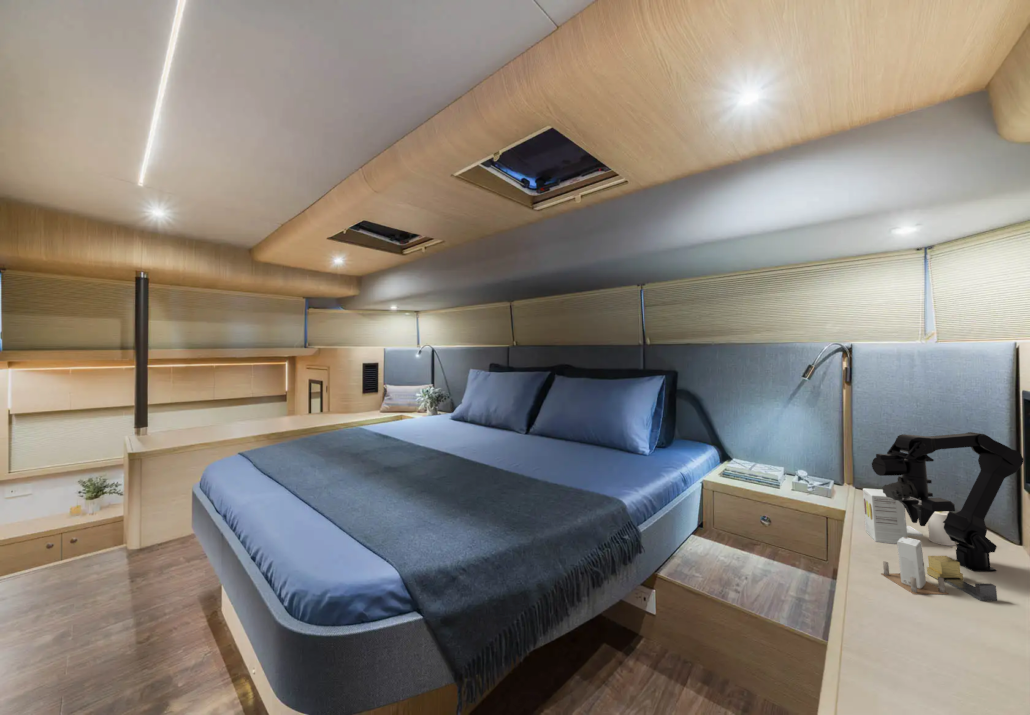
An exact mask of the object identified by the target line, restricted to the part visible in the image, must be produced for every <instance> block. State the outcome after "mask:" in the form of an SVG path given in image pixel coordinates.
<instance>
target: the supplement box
mask: <svg viewBox="0 0 1030 715" xmlns="http://www.w3.org/2000/svg"><path fill="white" fill-rule="evenodd" d="M862 496H863V508H864V510H863V511H864V520H865V521H864V522H865V524H864V525H865V532H866V533H867V534H868V536H870V538H871V539H872V540H873V541H874V542H876V543H883V544H884V543H886V544H894V545H897V541H899V539H900V538H902V537H907V538H908V535H907V527H906V526H907V520H906V519H907V518H906V517H907V516H906V509H905V507H904V505H903V504H902V503H901V502H899V501H898V500H894V499H892V498H890V497H889V498H888V497H886V495H885V493H883V488H882V489H881V488H880V489H879V488H878V489H877V488H862Z"/></svg>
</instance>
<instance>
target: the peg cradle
mask: <svg viewBox="0 0 1030 715" xmlns="http://www.w3.org/2000/svg"><path fill="white" fill-rule="evenodd" d="M882 565H883V566H882V568H883V573H880V574H881V575H882V576H883V577H885V578H886V579H889V580H890V581H892V582H893V583H895V584H897V585H898V586H900V587H901V588H903V589H904V590H906V591H908V592H909V593H911V594H912V595H950V594H949V592H947V591H946V586H945V582H944V578H942V577H938V579H937V583H938V584H937V585H938V586H936V585H935V584H932V583H931V582H929V581H927V580H926V584H925V585H924V586H923V587H922V588H921V589H919V588H917V583H916V578H914V577H910V582H911V586H909V585H906V584H903V583H902V582H901V575H900V573H891V572H890V568H889V567H890V566H889V562H888V561H882Z"/></svg>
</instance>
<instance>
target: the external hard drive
mask: <svg viewBox="0 0 1030 715" xmlns="http://www.w3.org/2000/svg"><path fill="white" fill-rule="evenodd" d="M906 527H907V536H913V537H923V533H922V532H921V531H919V530H918V529H915V528H914V527H912V526H911V525H906Z"/></svg>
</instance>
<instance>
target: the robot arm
mask: <svg viewBox="0 0 1030 715" xmlns="http://www.w3.org/2000/svg"><path fill="white" fill-rule="evenodd" d="M961 448H970V449H971V450H972V451H973V453H975V454H977V455H978V459H977V461H978V465H979V468H980V471H979V473H978V475H977V477H976V480H975V481H974V483H973V485H972V487H971V489H970V491H969V494H968V496H967V497H966V500H965V502H964V503H963V504H962V507H961V509H960V510H959V511H957V512H955V511H956V506H955V503H953V502H952V501H951V500H947V499H944V498H942V497H934V495H933V493H932V492H930V491H929V484H932V482H933V481H932V479H929V478H928V473H927V462H930V463H931V462H934V461H935V460H934V458H932V457H930V456H929V454H933V453H934V452H936V451H940V450H949V449H950V450H952V449H961ZM1024 460H1025V458H1024V457H1023V455H1022V454H1021V453H1020V451H1017V450H1016V449H1012V448H1010V447H1009V446H1007V445H1005V444H1003V443H1001V442H999V441H997V440H994V439H993V438H992V437H990V436H988V435H987V434H984V433H980V432H973V431H972V432H971V431H969V432H965V433H953V434H942V435H941V434H940V435H930V436H927V435H926V436H925V435H916V434H904V433H903V434H899V435H897V437H896V439H895V441H894V442H893V444H892V445H891V447H890V448H889V449H888V451H887V452H886V453H885V454H884V453H883V454H882V453H876V454H875V458H873V460H872V462H871V468H872V470H873V472H874V473H875V474H876V475H878V476H881V477H882V476H885V477H886V476H889V477H890V476H894V477H895V476H898V477H897V481H896V482H891V483H889V484H885V485H884V486H881V488H882V490H883V493H885V495H886V497H888V498H889V497H890V498H892V499H894V500H898V501H899V502H901V503H902V504H903V505H904V507H905V512H907V515H908V516H909V519H910V520H911V522H912V523H913V524H917V523H919V526H920V527H925V526H926V525H927V524H928V520H929V519H930V517H931V516H932V514H933V513H934V512H935V511H936V512H943V511H948V512H949V513H948V514H947V518H946V519H945V521H943V523H945V524H944V529H945V531H946V533H947V534H948V535H949V537H950V539H951V541H954V542H955V545H956V549H955V555H956V557H955V558H956V559H955V560H956V561H958V562H960V566H962V567H965V568H966V569H968V570H970V571H973V572H997V568H994V567H991V561H990V554H991V553H996V550H997V545H996V544H995V543H994V542H993V541H991V540H990V539H989V538H987V537H986V536H987V533H988V532H987V531H988V529H987V525H986V522H985V520H986V517H987V515H988V512H989V511H990V510H991V509H990V508H991V506H992V505H993V502H994V500H995V498H996V497H997V494H998V493H999V491H1000V488H1001V487H1002V484H1003V482H1004V481H1005V479H1006V478H1007V477H1010V476H1012V475H1014V474H1016V473H1017V472H1018V470H1019V469H1020V468H1021V466H1023V464H1024ZM954 512H955V513H954Z"/></svg>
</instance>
